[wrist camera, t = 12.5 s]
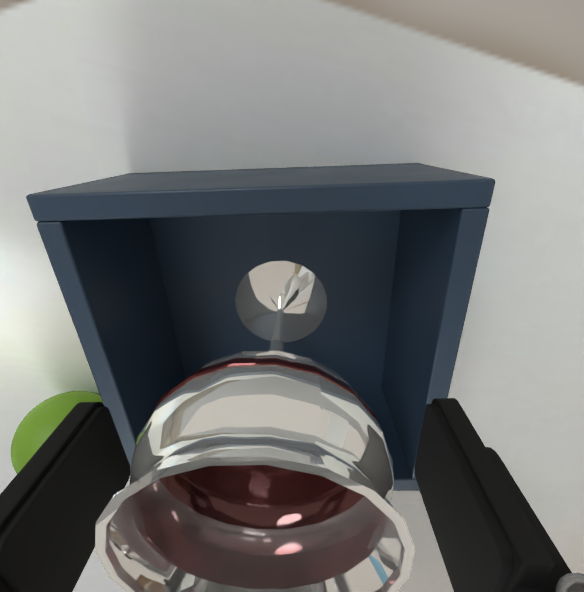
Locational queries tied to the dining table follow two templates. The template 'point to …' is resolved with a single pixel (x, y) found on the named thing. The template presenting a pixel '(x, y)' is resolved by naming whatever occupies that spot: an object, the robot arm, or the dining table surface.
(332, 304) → the box
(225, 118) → the dining table surface
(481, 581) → the robot arm
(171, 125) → the dining table surface
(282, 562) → the wineglass
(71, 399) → the snail on green ball
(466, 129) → the dining table surface
